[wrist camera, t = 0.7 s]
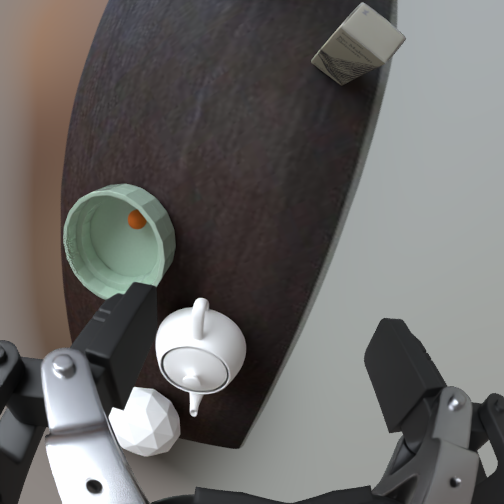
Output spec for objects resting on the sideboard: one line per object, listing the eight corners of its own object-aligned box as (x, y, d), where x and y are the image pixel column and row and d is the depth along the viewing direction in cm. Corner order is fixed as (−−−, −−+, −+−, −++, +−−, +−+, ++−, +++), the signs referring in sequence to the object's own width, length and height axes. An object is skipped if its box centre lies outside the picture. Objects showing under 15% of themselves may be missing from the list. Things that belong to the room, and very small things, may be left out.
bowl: (77, 188, 34) (55, 196, 29) (172, 179, 34) (157, 186, 29) (94, 281, 40) (77, 299, 35) (181, 286, 40) (171, 307, 34)
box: (308, 62, 28) (335, 24, 16) (328, 40, 26) (360, -2, 14) (343, 88, 29) (386, 65, 17) (361, 66, 27) (408, 37, 15)
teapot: (161, 270, 39) (133, 312, 29) (257, 285, 39) (256, 334, 29) (165, 374, 47) (150, 418, 37) (237, 386, 47) (233, 433, 38)
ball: (131, 207, 35) (123, 212, 32) (148, 206, 35) (141, 211, 32) (133, 226, 36) (125, 232, 33) (150, 225, 36) (143, 231, 33)
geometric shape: (142, 373, 54) (88, 385, 41) (197, 392, 48) (143, 416, 35) (144, 425, 53) (96, 444, 39) (196, 449, 47) (149, 479, 33)
